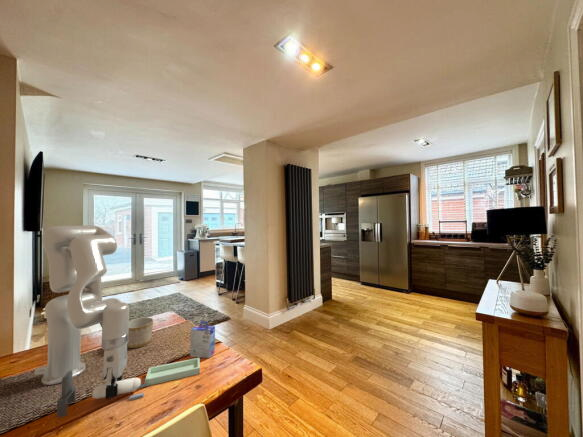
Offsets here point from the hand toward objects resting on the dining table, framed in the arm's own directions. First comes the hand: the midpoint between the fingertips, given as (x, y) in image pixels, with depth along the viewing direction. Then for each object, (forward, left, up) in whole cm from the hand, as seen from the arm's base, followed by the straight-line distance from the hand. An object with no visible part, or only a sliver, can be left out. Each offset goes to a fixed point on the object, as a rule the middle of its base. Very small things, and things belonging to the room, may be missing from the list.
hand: (113, 391), depth 81 cm
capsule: (+1, 0, -1) cm, 1 cm away
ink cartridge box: (+30, +16, -2) cm, 34 cm away
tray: (+19, +6, -2) cm, 20 cm away
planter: (0, +39, -2) cm, 40 cm away
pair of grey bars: (+8, -1, -2) cm, 8 cm away
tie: (-13, -1, -2) cm, 13 cm away
